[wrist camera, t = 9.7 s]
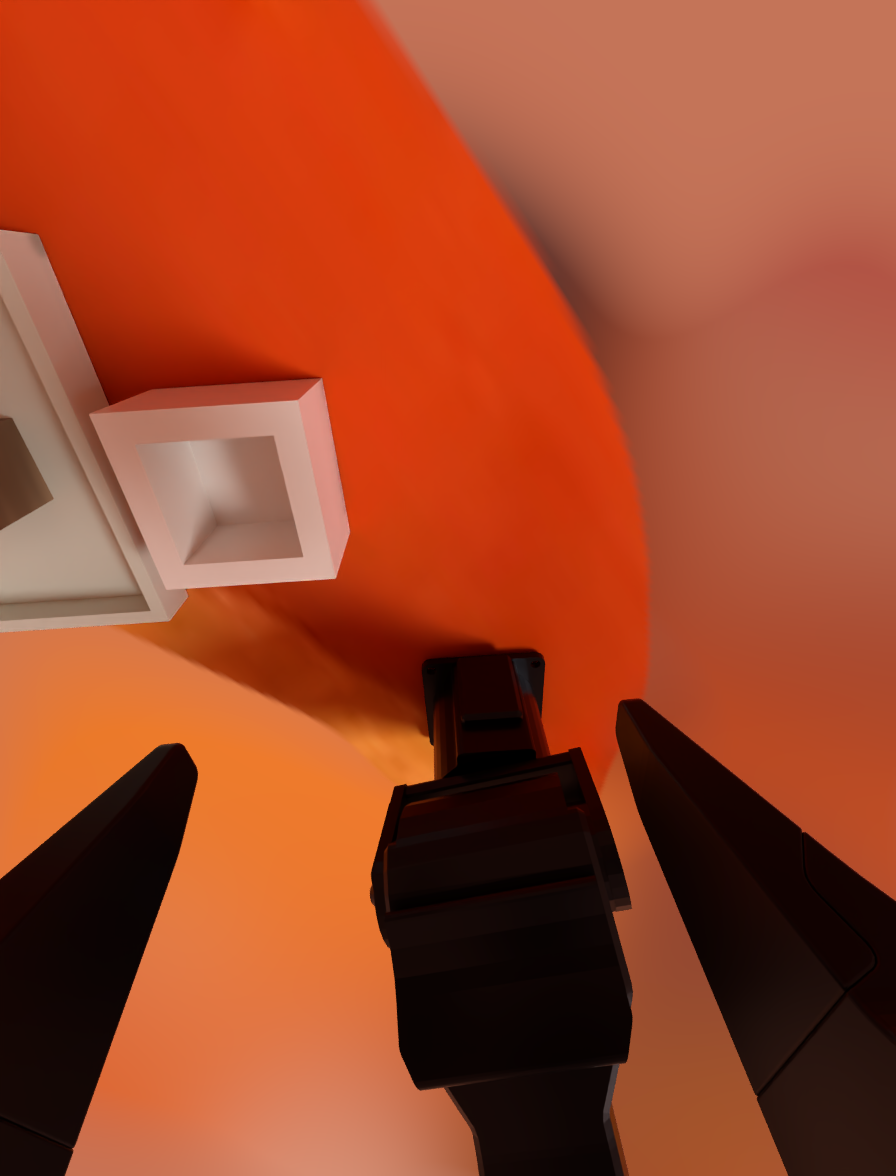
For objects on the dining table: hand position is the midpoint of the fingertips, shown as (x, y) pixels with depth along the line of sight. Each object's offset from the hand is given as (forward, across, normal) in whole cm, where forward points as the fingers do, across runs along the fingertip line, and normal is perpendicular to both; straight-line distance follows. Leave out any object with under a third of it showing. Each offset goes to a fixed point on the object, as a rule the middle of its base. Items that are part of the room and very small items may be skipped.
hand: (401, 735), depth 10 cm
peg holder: (+13, +6, -2) cm, 14 cm away
